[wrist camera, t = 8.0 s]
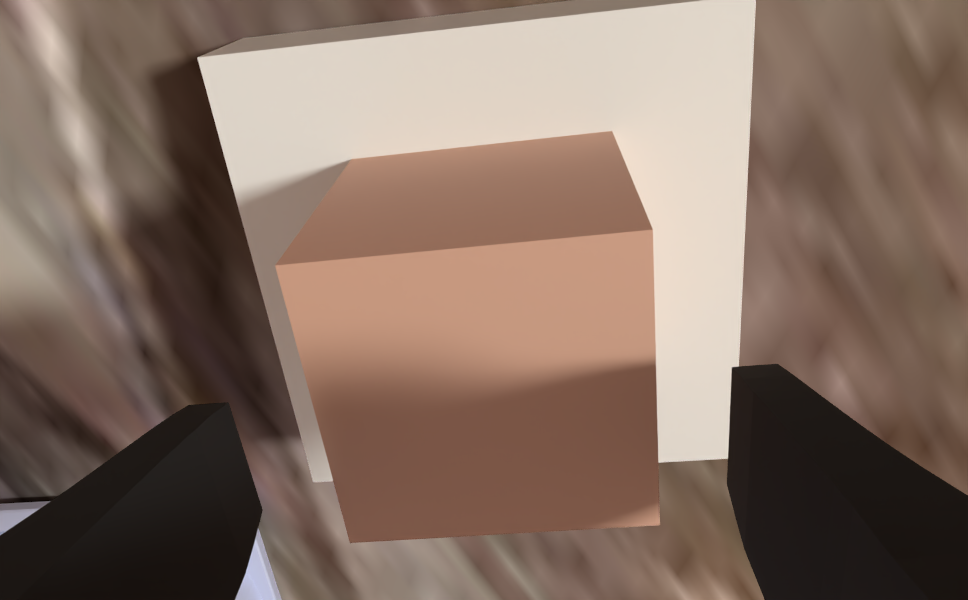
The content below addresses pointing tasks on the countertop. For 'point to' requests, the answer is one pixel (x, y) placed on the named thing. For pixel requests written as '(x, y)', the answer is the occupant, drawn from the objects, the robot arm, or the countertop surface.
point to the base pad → (516, 117)
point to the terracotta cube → (482, 340)
